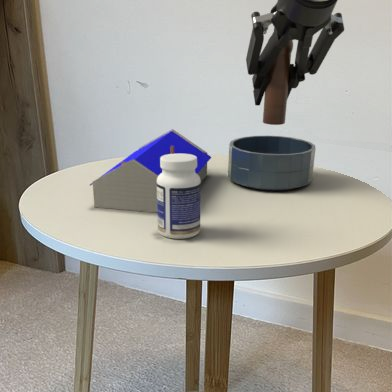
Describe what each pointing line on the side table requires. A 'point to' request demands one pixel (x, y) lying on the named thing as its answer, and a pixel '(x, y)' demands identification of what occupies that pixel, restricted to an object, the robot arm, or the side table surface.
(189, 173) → the pill bottle
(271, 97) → the brown cylinder
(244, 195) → the side table surface
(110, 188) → the toy house model
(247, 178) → the bowl
